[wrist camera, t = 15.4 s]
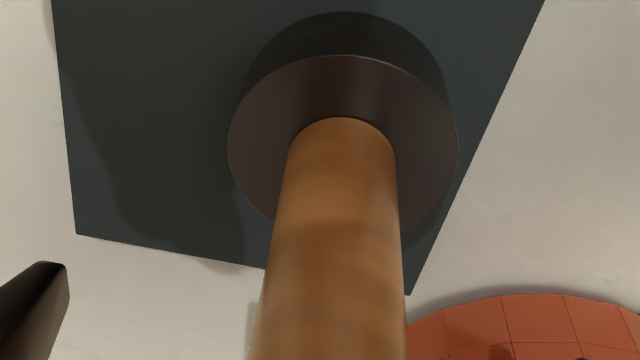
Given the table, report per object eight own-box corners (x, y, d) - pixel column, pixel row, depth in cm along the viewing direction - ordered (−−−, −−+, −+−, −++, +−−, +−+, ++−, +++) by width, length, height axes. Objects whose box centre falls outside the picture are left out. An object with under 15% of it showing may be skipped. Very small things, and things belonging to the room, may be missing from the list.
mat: (652, -256, 11) (663, -256, 10) (409, 286, 20) (410, 296, 20) (18, -421, 10) (3, -429, 9) (81, 224, 20) (75, 234, 19)
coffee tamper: (478, 39, 14) (607, 373, 6) (410, 203, 17) (442, 546, 10) (260, -13, 14) (128, 281, 6) (233, 165, 17) (128, 494, 9)
